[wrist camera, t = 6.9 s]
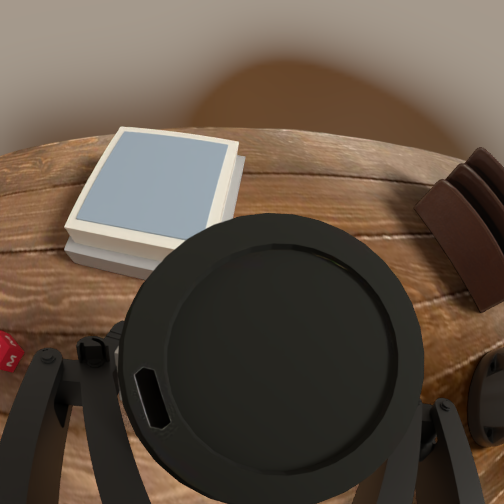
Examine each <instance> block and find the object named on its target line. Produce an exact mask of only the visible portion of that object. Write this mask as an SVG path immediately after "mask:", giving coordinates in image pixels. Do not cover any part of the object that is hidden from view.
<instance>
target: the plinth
mask: <svg viewBox="0 0 504 504" xmlns="http://www.w3.org/2000/svg"><path fill="white" fill-rule="evenodd" d="M238 145H239V142H237V141H231V140H225V139H220V138H214V137H207V136H201V135H194V134H187V133H179V132H171V131H163V130H154V129H144V128H143V129H142V128H132V127H120V129H119V130H118V132H117V133H116V135H115V136H114V138H113V139H112V141H111V142H110V144H109V145H108V147H107V149H106V150H105V152H104V153H103V155H102V157H101V158H100V160H99V162H98V163H97V165H96V167H95V169H94V170H93V172H92V174H91V176H90V177H89V179H88V181H87V183H86V185H85V186H84V188H83V190H82V192H81V194H80V196H79V198H78V200H77V202H76V204H75V206H74V208H73V210H72V212H71V214H70V216H69V218H68V220H67V222H66V224H65V226H64V227H65V229H66V230H67V232H68V233H69V235H70V237H69V239H68V241H67V244H66V246H65V248H64V251H65V252H66V253H67V254H68V256H69V257H70V258H71V259H72V260H73V262H74V263H77V264H81V265H85V266H89V267H93V268H97V269H101V270H105V271H109V272H114V273H118V274H122V275H126V276H131V277H135V278H139V279H144V280H146V279H147V278H148V277H149V276H150V274H151V273H152V272H153V271H154V269H155V268H156V267H157V266H158V265H159V264H160V263H161V262H162V261H163V259H164V258H165V257H166V256H167V255H168V254H170V253H171V252H172V251H173V250H174V249H176V248H177V247H178V246H179V245H181V244H182V243H183V242H184V241H185V240H187V239H188V238H190V237H191V236H193V235H195V234H197V233H199V232H201V231H203V230H204V229H206V228H208V227H210V226H212V225H214V224H217V223H221V222H224V221H227V220H230V219H233V215H234V210H235V205H236V200H237V196H238V191H239V186H240V181H241V177H242V172H243V167H244V162H245V157H244V156H238V155H237V150H238Z"/></svg>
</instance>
